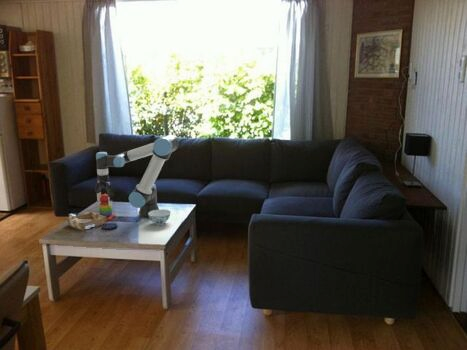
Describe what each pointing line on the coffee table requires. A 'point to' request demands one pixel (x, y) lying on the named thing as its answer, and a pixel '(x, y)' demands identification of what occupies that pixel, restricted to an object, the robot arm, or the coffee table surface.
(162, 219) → the chinaware
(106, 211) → the stacking bear
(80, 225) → the crate
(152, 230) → the coffee table surface
